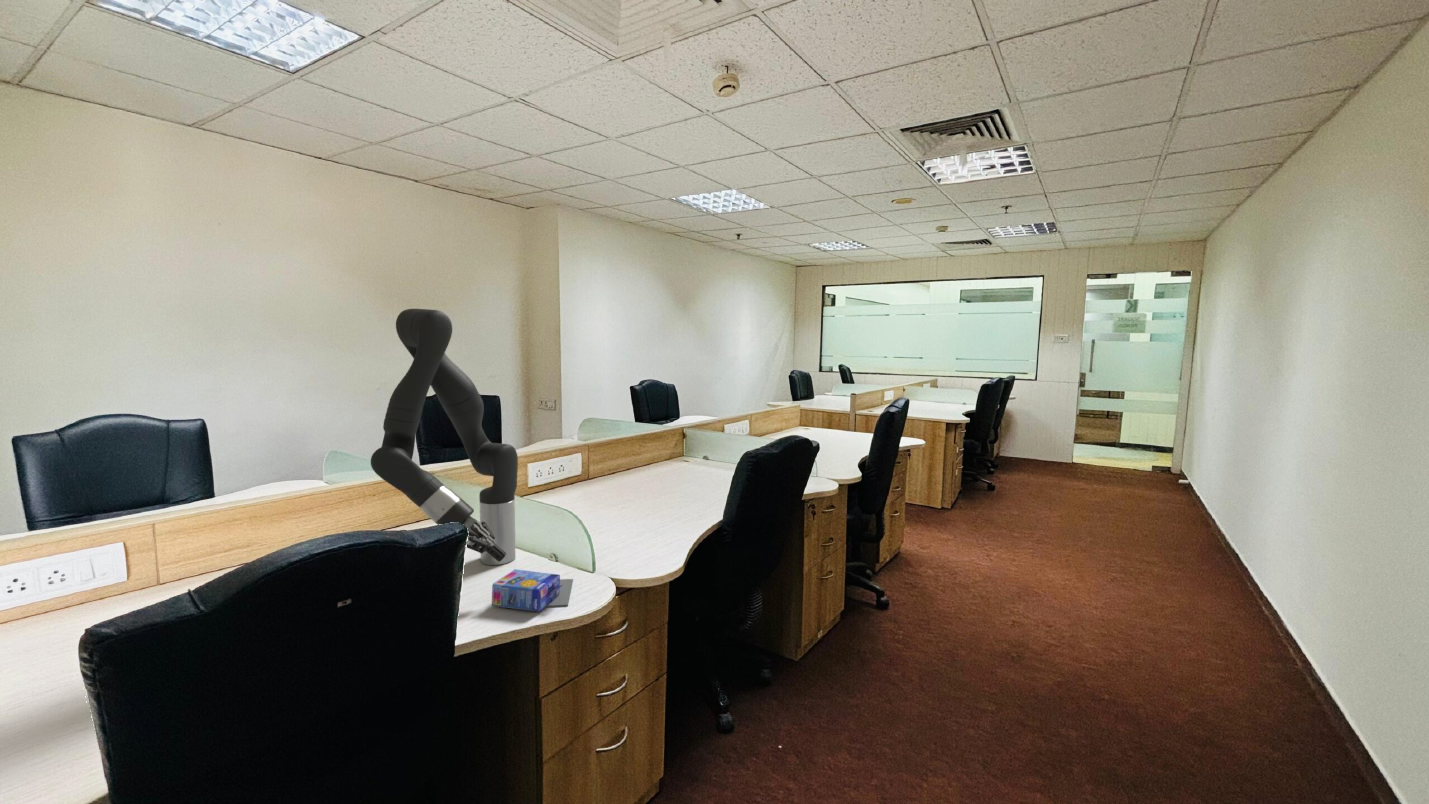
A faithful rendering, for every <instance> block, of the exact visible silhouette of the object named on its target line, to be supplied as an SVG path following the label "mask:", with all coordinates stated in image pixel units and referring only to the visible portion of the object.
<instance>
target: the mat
mask: <svg viewBox="0 0 1429 804" xmlns="http://www.w3.org/2000/svg"><path fill="white" fill-rule="evenodd" d="M573 582H574V578H566V579H565V578H562V579H561V578H560V586H561V585H563V586H562V587H560V589H559V595H558V596H557V597H556V598H555V599H554V600H552V601H551V602H550V603H549V604H548V605H547V606H546V607H545V608H558V607H559V608H560V607H568V606H569V603H570V597H571V592H572V588H573V587H572V586H573ZM511 610H516V609H515V608H511Z"/></svg>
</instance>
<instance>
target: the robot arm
mask: <svg viewBox="0 0 1429 804" xmlns="http://www.w3.org/2000/svg"><path fill="white" fill-rule="evenodd" d="M395 329H396V334H397V335H398V336H397V337H398V338H399V340H400V342H401V343H402V345H404V348H406V350H407V351H408V353H409V354H410V355H411V357H412V358H413V361H412V362H411V365H410V366H409V368H408V370H407V372H406V373H405V374H404V376H403V377H402V379H401V380H400V381H399V383H398V384H397V385H396V387H395V388H394V390H393V392H392V393H391V396H390V398H389V402H388V405H387V407H386V413H385V414H384V415H385V416H384V420H383V426H382V427H383V431H384V435H383V440H382V444H381V447H379V448H377V449H376V450H374V452H373V453H372V454H371V458H370V467H371V469H372V470H373V472H374V473H375V474H376V475H377V476H378V477H379V478H381V479H382V480H383V481H385V482H386V483H387V484H389V485H391V486H392V487H393V488H395V489H397V490H399V491H400V492H401V493H403V494H404V495H405V496H406V498H408V499H409V500H410V501H411V502H412V503H414V504H415V505H416V506H417V507H418V508H419V509H421V510H422V512H423V513H424V514H425V515H426V516H427V517H428V518H429V519H431V520H432V521H433V523H435V524H436V525H437V526H439V524H445V523H450V522H459V523H461V524H464V525H465V526H466V527H467V528H468V531H469V536H468V541H467V547H466V548H467V549H470V550H471V551H474V552H477V553H479V554H480V563H481V564H484V565H487V566H498V565H504V564H507V563H511V562H513V561H514V560H516V508H515V507H516V505H515V501H516V500H515V494H516V490H517V488H518V469H519V467H518V466H519V459H518V458H519V457H518V453H517V450H516V448H515V447H514V446H513V445H512V444H507V443H498V442H491V441H490V439H489V438H488V437H487V435H486V433H485V431H484V428H483V427H482V426H483V425H482V422H483V418H484V411H485V410H484V409H485V408H484V406H485V405H484V401H483V399H482V397H481V395H480V392H479V391H478V388H477V387H476V385H475V383H474V382H473V381H472V379H471V378H470V377H469V376H468V375H467V374H466V373H465V372H464V371H463V370H462V368H460V367H459V366H457V365H456V363H455V362H453V361H452V360H451V359H450V357H448V355H447V354H446V351H447V348H448V347H449V344H450V341H451V338H452V335H453V325H452V321H451V319H450V317H449V316H448V315H447V314H446V313H445V312H444V311H441V310H439V309H438V310H437V309H431V308H430V309H429V308H428V309H427V308H408V309H404V310H402V311H401V312H399V314H398V315H397V318H396V320H395ZM430 387H431V389H432V390H433V392H434V394H435V395H436V397H437V399H438V401H439V403H440V405H441V406H442V408H443V410H444V412H445V413H446V415H447V417H448V418H449V420H450V421H451V424H452V425H453V427H454V429H455V430H456V432H457V435H458V437H459V438H460V440H461V442H462V445H463V447H464V449H465V452H466V454H467V457H468V459H469V462H470V464H471V467H473V470H475V471H476V473H478V475H479V474H480V475H482V476H486V477H487V476H488V477H492V478H493V479H492V484H491V486H488V487H486V488H484V489H481V490H480V491H479V499H478V500H479V520H477V519H476V518H473V516H471V515H472V514H473V513H474V511H475V509H474V508H473V507H472V506H470V504H468V503H467V502H466V501H465V500H464V499H462V498H461V497H460V496H459V494H457V493H455V491H453V490H452V489H451V488H449V487H447V486H446V485H445V484H444V483H442V482H441V480H439V479H438V478H437V477H436V476H435V475H433V474H432V473H431V472H429V471H427V470H424V469H423V468H421V467H420V465H418V464H417V463H415V461H413V458H414V457H413V456H414V451H415V443H416V434H417V431H418V428H419V424H420V421H421V417H422V413H423V408H424V404H425V402H426V398H427V396H428V392H429V390H430Z"/></svg>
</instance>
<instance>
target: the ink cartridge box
mask: <svg viewBox="0 0 1429 804" xmlns="http://www.w3.org/2000/svg"><path fill="white" fill-rule="evenodd" d="M560 579H561V575H560V574H557V573H556V574H555V573H547V572H539V571H532V570H525V569H516V568H515V569H513V570H512V571H510V572H508V573H507V574H506V575H504V576H503V577H501V578H499V579H498V580H496V581H495V582H493V583H492V585H491V586H492V587H491V606H493V607H501V608H508V609H512V608H515V609H514V610H524V611H530V612H531V611H532V612H541V611H542V610H544V609H545V608H547V607H546V606H547V605H548V604H549V603H550V602H551V601H552V600H554V599H555V598H556V597H557V596H558V595H559V589H560V587H562V586H563V585H561V586H560Z"/></svg>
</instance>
